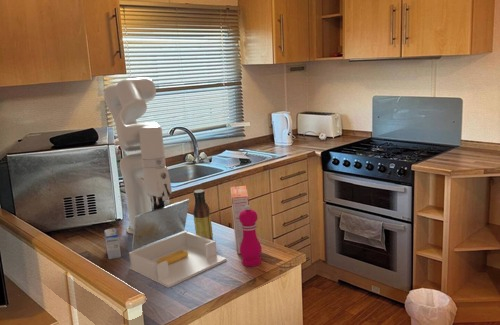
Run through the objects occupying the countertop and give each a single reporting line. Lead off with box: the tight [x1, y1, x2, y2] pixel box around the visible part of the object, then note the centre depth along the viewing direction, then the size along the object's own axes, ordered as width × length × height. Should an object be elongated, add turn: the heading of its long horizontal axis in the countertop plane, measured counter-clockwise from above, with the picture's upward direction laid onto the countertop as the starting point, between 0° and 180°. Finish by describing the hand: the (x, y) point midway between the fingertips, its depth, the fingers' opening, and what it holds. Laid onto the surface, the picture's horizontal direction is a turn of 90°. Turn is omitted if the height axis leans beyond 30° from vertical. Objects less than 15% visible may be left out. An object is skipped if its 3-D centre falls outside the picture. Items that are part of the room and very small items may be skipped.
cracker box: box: [230, 185, 250, 255], centre depth 169 cm, size 14×6×21 cm, turn 4°
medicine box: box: [103, 227, 122, 260], centre depth 172 cm, size 8×4×9 cm, turn 21°
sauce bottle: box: [192, 189, 214, 241], centre depth 177 cm, size 7×6×20 cm
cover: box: [131, 198, 190, 251], centre depth 163 cm, size 14×22×1 cm
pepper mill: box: [239, 204, 263, 267], centre depth 156 cm, size 7×7×20 cm
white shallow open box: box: [128, 230, 227, 288], centre depth 160 cm, size 22×24×6 cm
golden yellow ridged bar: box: [157, 250, 188, 265], centre depth 162 cm, size 4×11×2 cm, turn 135°
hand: (159, 214), depth 162 cm, fingers closed
